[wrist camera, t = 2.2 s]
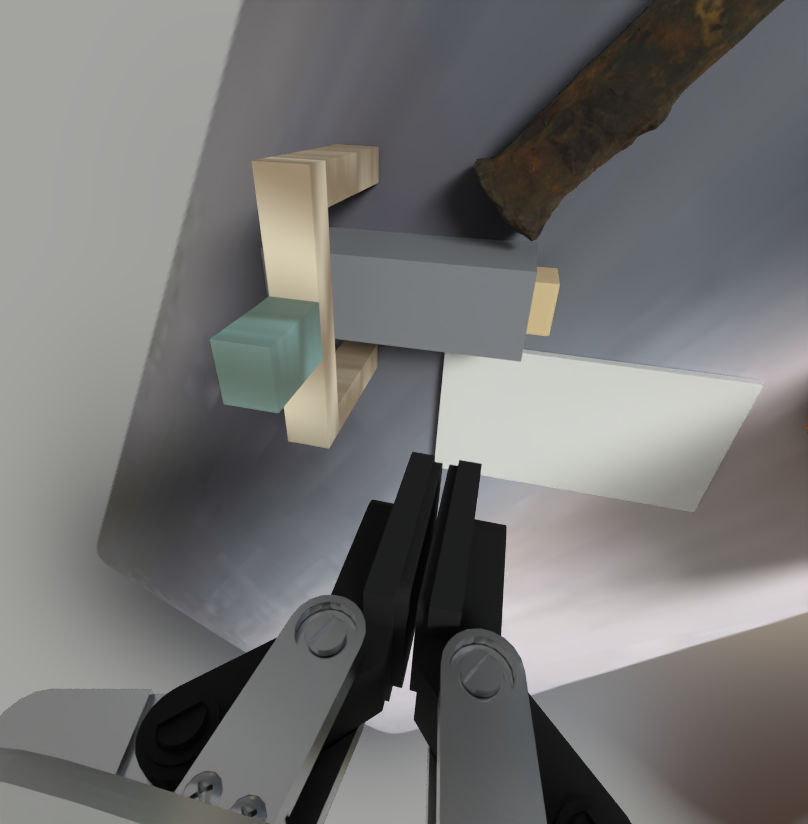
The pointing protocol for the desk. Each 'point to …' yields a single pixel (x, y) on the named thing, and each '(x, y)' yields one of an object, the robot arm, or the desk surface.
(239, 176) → the desk surface
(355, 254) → the grey block with cap
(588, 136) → the hand tool
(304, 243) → the wooden arch block
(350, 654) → the robot arm
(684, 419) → the mat
